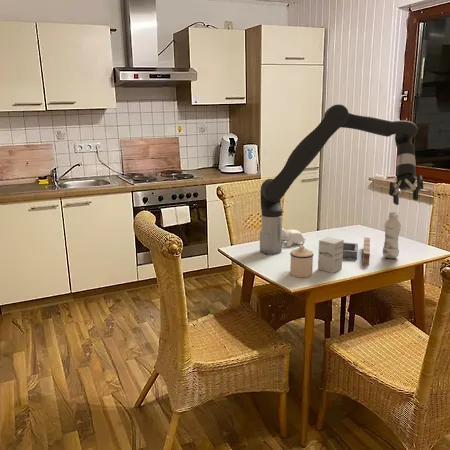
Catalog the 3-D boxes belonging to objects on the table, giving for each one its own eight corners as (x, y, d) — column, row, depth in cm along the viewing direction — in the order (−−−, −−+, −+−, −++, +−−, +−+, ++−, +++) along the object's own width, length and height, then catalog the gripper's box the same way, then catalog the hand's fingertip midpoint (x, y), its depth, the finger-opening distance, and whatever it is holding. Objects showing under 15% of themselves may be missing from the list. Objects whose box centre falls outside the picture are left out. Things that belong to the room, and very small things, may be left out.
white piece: (294, 246, 225) (269, 238, 219) (300, 230, 224) (275, 222, 218) (302, 251, 217) (276, 243, 211) (309, 234, 216) (283, 226, 210)
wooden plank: (368, 265, 188) (369, 253, 187) (362, 264, 189) (363, 253, 188) (369, 248, 210) (369, 237, 209) (363, 247, 211) (364, 237, 210)
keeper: (356, 259, 195) (357, 251, 194) (327, 257, 199) (327, 249, 198) (357, 250, 206) (358, 243, 205) (329, 248, 210) (330, 241, 209)
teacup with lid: (317, 276, 177) (318, 247, 174) (297, 279, 174) (298, 251, 171) (300, 266, 188) (301, 239, 185) (281, 269, 184) (282, 242, 181)
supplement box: (317, 269, 184) (318, 239, 181) (326, 264, 189) (328, 236, 186) (333, 273, 179) (334, 243, 176) (342, 269, 184) (344, 239, 181)
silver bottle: (399, 260, 193) (403, 215, 188) (382, 259, 194) (386, 214, 189) (397, 255, 199) (400, 211, 194) (381, 255, 200) (384, 211, 195)
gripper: (385, 168, 194) (385, 203, 189) (416, 158, 183) (416, 195, 178) (396, 174, 198) (395, 208, 193) (426, 165, 187) (427, 201, 182)
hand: (405, 202), depth 186 cm, fingers open, 8 cm apart
